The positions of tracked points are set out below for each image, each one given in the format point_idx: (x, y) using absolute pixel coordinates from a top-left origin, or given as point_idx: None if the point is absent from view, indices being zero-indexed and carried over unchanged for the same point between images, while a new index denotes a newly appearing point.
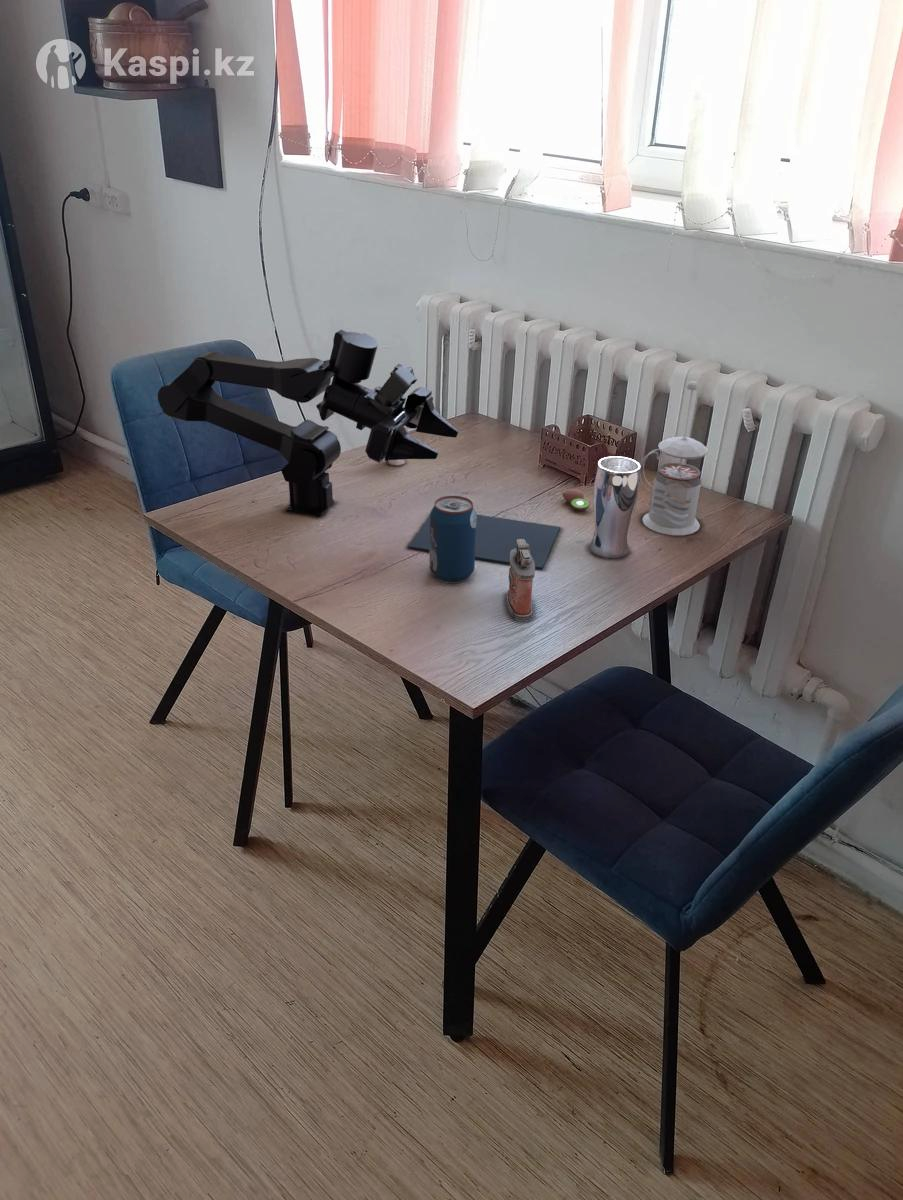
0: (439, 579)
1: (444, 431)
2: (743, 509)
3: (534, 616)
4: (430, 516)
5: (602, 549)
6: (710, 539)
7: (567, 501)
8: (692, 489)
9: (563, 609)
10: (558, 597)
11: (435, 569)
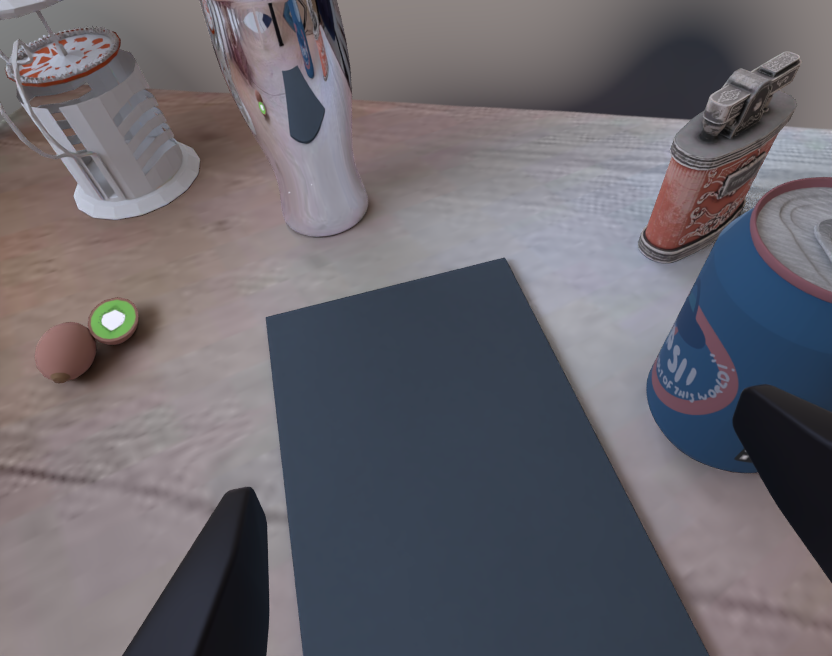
0: None
1: (250, 640)
2: None
3: None
4: None
5: (363, 189)
6: (192, 119)
7: (89, 366)
8: (124, 55)
9: (622, 173)
10: (588, 195)
11: None
